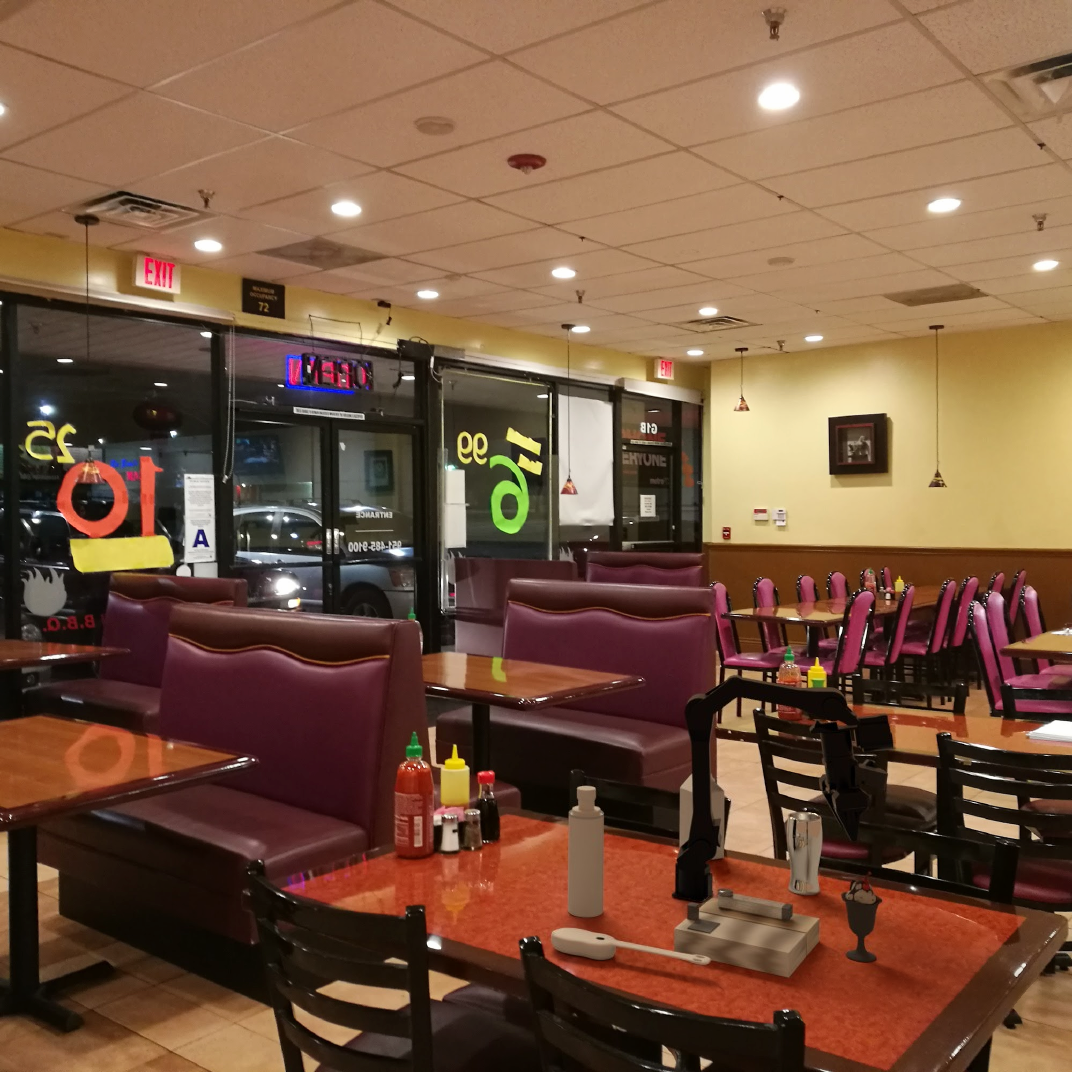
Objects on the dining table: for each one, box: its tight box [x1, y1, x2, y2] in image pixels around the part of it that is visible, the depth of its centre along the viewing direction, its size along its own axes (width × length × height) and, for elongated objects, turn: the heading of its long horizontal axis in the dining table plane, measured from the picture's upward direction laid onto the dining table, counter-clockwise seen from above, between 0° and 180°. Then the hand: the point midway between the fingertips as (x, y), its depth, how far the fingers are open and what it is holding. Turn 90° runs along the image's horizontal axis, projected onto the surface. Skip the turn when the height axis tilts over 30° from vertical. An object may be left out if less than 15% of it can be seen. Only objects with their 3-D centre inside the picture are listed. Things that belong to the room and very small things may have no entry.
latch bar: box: [717, 887, 794, 921], centre depth 187 cm, size 13×3×3 cm, turn 59°
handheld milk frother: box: [550, 927, 712, 966], centre depth 175 cm, size 28×6×3 cm, turn 65°
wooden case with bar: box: [673, 897, 820, 979], centre depth 182 cm, size 20×18×6 cm
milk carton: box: [679, 773, 725, 861], centre depth 233 cm, size 7×7×19 cm
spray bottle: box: [567, 785, 605, 918], centre depth 198 cm, size 7×7×25 cm
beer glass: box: [786, 811, 823, 896], centre depth 211 cm, size 7×7×15 cm
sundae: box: [840, 871, 883, 963], centre depth 178 cm, size 7×7×15 cm
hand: (849, 834), depth 201 cm, fingers open, 9 cm apart
